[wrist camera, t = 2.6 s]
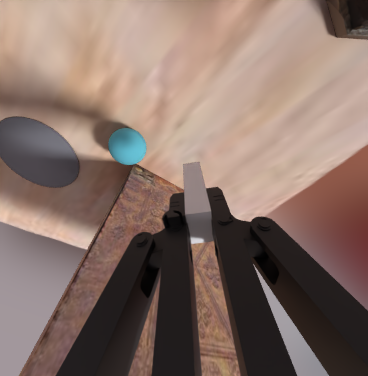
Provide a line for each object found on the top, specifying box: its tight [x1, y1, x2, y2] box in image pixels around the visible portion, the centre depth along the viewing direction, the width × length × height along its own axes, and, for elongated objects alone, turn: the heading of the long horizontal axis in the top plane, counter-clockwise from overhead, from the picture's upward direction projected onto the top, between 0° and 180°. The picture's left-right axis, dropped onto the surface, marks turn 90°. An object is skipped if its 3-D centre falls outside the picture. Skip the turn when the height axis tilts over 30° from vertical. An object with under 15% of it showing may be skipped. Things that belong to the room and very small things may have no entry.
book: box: [19, 164, 241, 376], centre depth 23 cm, size 25×9×30 cm, turn 55°
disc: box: [0, 117, 79, 187], centre depth 28 cm, size 13×13×1 cm
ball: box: [108, 128, 146, 165], centre depth 25 cm, size 6×6×6 cm
